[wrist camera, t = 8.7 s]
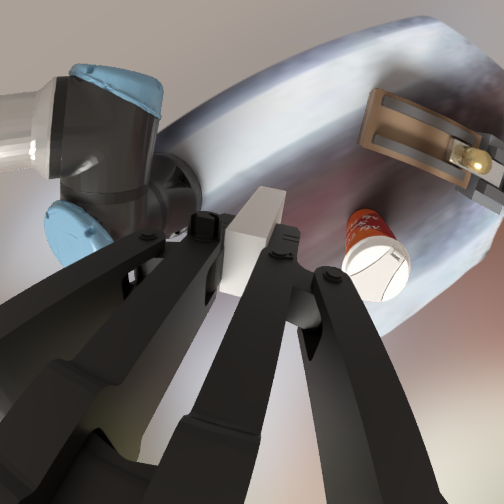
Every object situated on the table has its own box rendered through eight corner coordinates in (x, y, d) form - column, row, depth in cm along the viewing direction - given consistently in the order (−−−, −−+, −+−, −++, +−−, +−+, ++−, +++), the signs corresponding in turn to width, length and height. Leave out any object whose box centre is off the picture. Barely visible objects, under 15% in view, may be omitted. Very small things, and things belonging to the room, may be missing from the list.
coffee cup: (360, 190, 40) (375, 225, 27) (400, 222, 41) (427, 269, 28) (328, 232, 44) (326, 282, 31) (367, 260, 45) (378, 318, 32)
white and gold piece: (444, 159, 29) (469, 170, 22) (449, 137, 28) (476, 144, 21) (492, 184, 28) (521, 200, 21) (498, 165, 27) (528, 177, 20)
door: (357, 143, 37) (363, 148, 30) (369, 92, 34) (379, 86, 27) (450, 180, 35) (472, 193, 28) (464, 132, 31) (488, 137, 24)
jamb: (455, 189, 36) (479, 205, 28) (472, 131, 31) (500, 136, 23) (482, 202, 35) (507, 220, 27) (499, 147, 30) (528, 155, 22)
